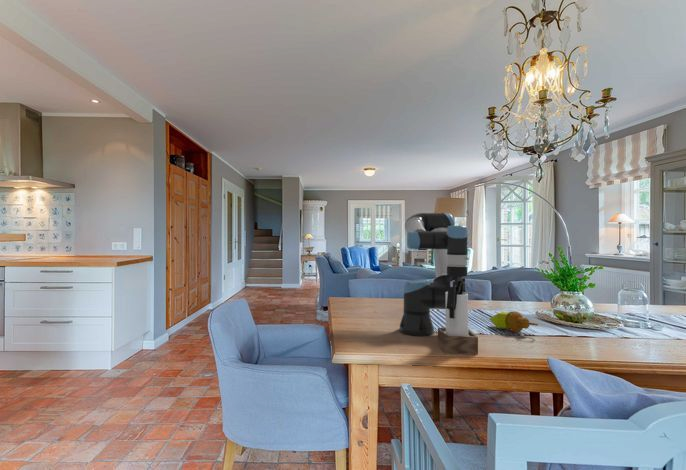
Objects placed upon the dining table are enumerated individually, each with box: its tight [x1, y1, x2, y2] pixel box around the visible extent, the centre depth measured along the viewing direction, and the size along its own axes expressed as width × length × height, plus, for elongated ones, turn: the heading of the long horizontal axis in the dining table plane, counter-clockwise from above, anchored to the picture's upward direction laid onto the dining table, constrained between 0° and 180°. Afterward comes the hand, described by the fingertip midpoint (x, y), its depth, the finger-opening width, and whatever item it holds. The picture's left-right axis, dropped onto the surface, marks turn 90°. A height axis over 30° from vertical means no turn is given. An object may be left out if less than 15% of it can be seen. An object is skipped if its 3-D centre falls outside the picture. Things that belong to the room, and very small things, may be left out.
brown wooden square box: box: [437, 327, 479, 355], centre depth 130 cm, size 12×12×6 cm
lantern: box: [488, 311, 539, 333], centre depth 154 cm, size 9×9×25 cm
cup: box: [445, 292, 469, 336], centre depth 130 cm, size 8×8×16 cm
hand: (456, 323), depth 131 cm, fingers open, 10 cm apart
